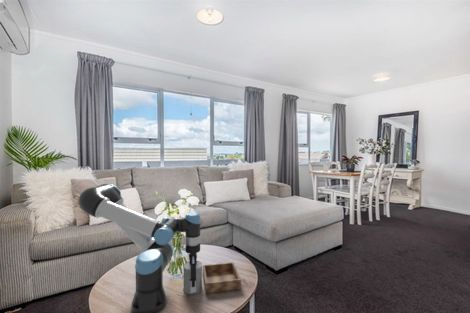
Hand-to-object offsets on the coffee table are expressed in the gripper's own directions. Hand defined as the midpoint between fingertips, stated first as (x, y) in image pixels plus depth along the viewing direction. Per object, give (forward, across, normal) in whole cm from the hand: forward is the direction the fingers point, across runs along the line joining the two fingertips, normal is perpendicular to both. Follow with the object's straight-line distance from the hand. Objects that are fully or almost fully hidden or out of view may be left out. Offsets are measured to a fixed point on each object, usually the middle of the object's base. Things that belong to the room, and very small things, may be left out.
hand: (192, 286), depth 121 cm
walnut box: (+1, +3, -15) cm, 15 cm away
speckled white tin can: (+2, 0, 0) cm, 2 cm away
